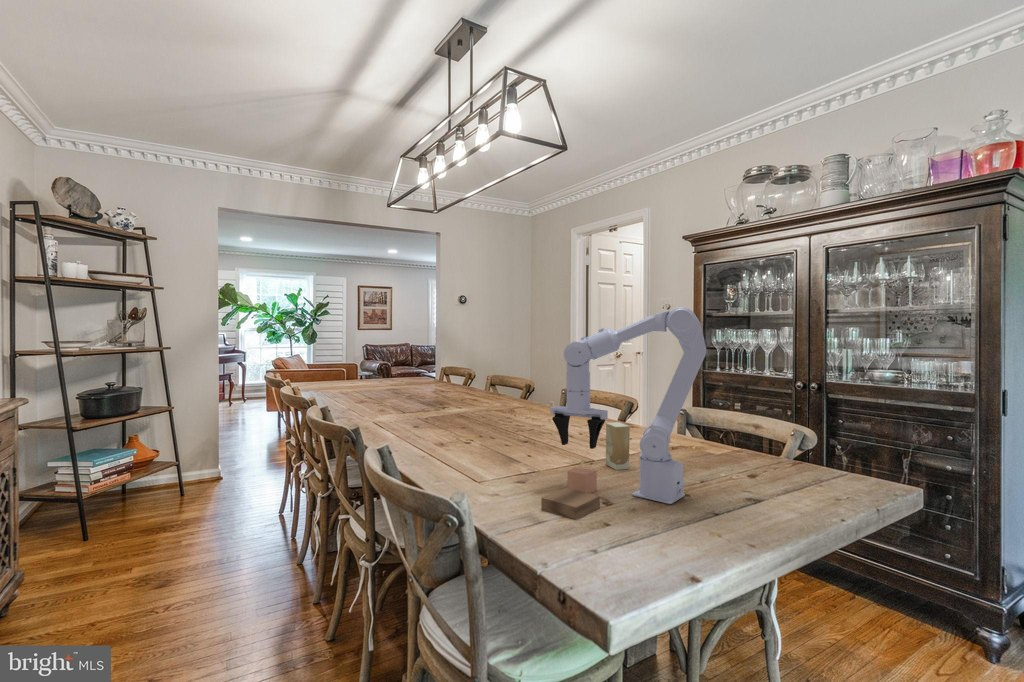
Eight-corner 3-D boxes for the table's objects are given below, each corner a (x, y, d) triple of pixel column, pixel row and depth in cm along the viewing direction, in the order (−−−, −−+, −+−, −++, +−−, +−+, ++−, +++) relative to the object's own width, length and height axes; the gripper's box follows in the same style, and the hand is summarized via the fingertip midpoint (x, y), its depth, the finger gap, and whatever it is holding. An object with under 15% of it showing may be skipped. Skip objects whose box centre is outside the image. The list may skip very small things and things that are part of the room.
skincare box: (605, 464, 142) (604, 422, 141) (618, 463, 143) (618, 421, 143) (616, 470, 135) (616, 426, 135) (630, 469, 137) (630, 425, 137)
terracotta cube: (596, 490, 119) (596, 469, 119) (585, 495, 115) (585, 474, 115) (579, 486, 122) (579, 466, 122) (567, 491, 118) (567, 470, 118)
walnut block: (599, 509, 107) (599, 496, 107) (576, 522, 100) (576, 507, 100) (565, 500, 113) (565, 487, 113) (541, 511, 106) (541, 497, 106)
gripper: (612, 390, 119) (612, 446, 120) (559, 387, 128) (560, 439, 128) (600, 393, 114) (601, 452, 114) (546, 390, 122) (546, 444, 122)
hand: (578, 446), depth 120 cm, fingers open, 7 cm apart
